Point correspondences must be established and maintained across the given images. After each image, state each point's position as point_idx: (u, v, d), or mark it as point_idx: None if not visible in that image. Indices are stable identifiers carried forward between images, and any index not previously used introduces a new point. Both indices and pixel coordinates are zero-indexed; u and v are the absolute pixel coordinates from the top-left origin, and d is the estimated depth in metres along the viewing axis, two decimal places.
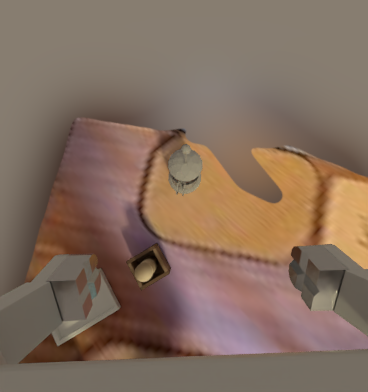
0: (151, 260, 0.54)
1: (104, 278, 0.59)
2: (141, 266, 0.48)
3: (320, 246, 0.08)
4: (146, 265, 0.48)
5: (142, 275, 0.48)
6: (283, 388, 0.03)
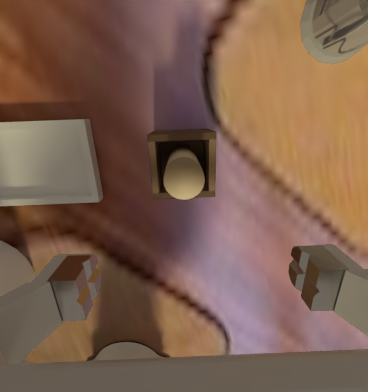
0: (196, 158, 0.26)
1: (90, 141, 0.31)
2: (186, 164, 0.20)
3: (320, 246, 0.08)
4: (197, 169, 0.20)
5: (178, 184, 0.21)
6: (283, 388, 0.03)
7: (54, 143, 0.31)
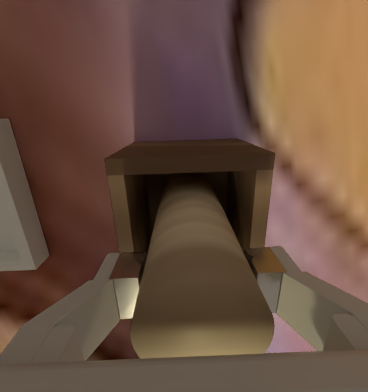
0: (224, 212, 0.11)
1: (9, 162, 0.16)
2: (212, 291, 0.05)
3: (268, 248, 0.08)
4: (253, 304, 0.06)
5: (181, 346, 0.06)
6: (283, 388, 0.03)
7: None
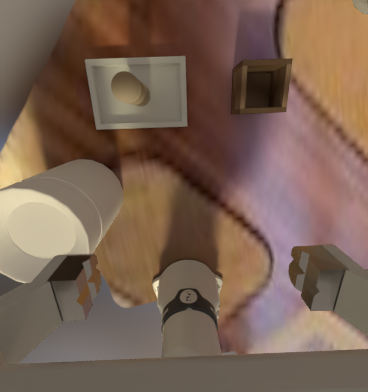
0: (143, 84, 0.35)
1: (185, 75, 0.40)
2: (125, 74, 0.30)
3: (320, 246, 0.08)
4: (134, 78, 0.30)
5: (121, 90, 0.30)
6: (283, 388, 0.03)
7: (157, 78, 0.41)
